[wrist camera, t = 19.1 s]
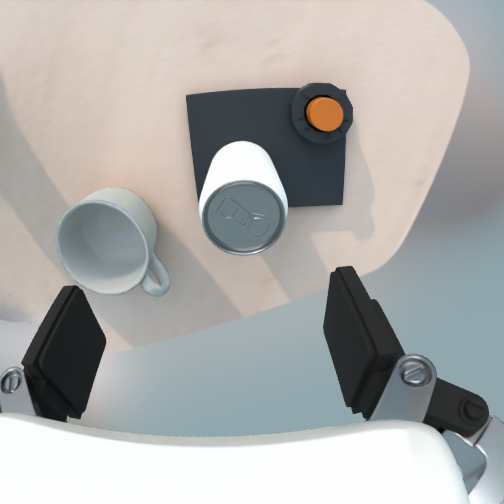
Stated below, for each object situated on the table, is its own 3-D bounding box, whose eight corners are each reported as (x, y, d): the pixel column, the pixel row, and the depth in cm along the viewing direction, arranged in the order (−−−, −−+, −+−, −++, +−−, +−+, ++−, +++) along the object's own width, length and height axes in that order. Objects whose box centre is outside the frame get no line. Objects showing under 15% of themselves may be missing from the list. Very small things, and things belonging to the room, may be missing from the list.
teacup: (70, 211, 32) (38, 243, 25) (125, 157, 30) (95, 180, 23) (140, 285, 39) (124, 326, 32) (200, 246, 36) (191, 287, 29)
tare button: (306, 128, 27) (310, 131, 25) (305, 96, 25) (309, 97, 23) (337, 129, 27) (343, 131, 25) (337, 98, 25) (343, 98, 23)
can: (250, 209, 32) (256, 274, 22) (198, 179, 30) (178, 233, 20) (285, 162, 30) (311, 207, 19) (232, 128, 28) (229, 154, 17)
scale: (201, 209, 33) (198, 220, 31) (187, 89, 26) (181, 90, 24) (339, 200, 33) (348, 211, 31) (342, 84, 26) (352, 85, 24)
